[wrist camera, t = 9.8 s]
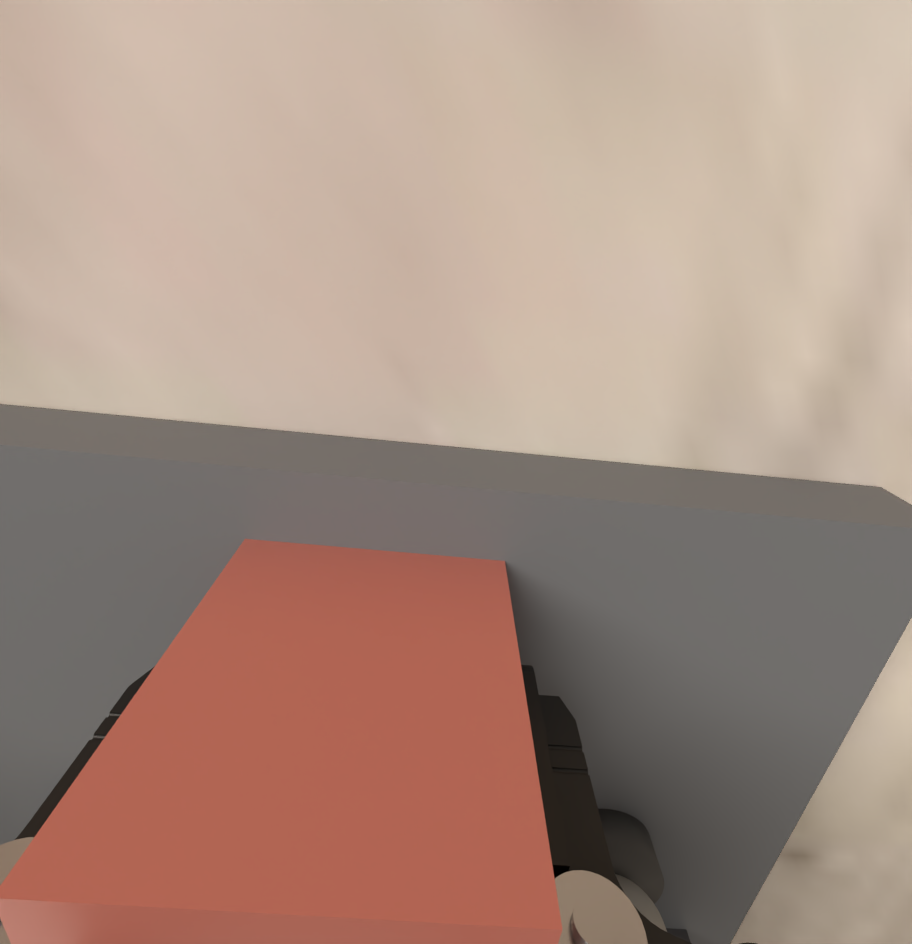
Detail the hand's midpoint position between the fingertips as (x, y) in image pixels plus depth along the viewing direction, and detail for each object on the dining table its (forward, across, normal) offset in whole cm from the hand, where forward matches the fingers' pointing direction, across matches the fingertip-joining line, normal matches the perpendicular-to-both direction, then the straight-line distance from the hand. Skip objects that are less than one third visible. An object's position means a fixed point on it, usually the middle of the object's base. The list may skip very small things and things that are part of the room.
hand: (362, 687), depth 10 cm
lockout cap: (+1, 0, 0) cm, 1 cm away
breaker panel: (+3, 0, +7) cm, 8 cm away
